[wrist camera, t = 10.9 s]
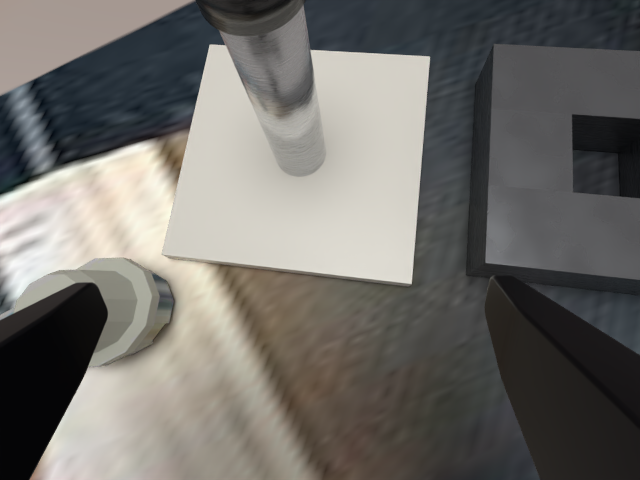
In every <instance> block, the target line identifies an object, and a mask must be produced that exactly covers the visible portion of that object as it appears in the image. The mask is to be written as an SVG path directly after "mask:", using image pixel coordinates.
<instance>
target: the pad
mask: <svg viewBox="0 0 640 480" xmlns="http://www.w3.org/2000/svg"><path fill="white" fill-rule="evenodd" d="M310 51H311V57H312V64H313V70H314V77H315V83H316V89H317V96H318V102H319V108H320V115H321V121H322V127H323V134H324V140H325V146H326V157H325V160H324V162H323V164H322V166H321V167H320V168H319V169H318V170H317V171H315V172H314V173H312V174H310V175H307V176H302V177H297V176H292V175H289V174H287V173H285V172H284V171H283V170H282V169H281V168H280V167H279V166H278V164H277V161H276V159H275V157H274V155H273V152H272V150H271V148H270V145H269V143H268V141H267V139H266V136H265V134H264V132H263V129H262V127H261V125H260V123H259V120H258V118H257V116H256V113H255V111H254V109H253V106H252V104H251V102H250V100H249V97H248V95H247V93H246V90H245V88H244V86H243V84H242V81H241V79H240V77H239V74H238V72H237V70H236V68H235V65H234V63H233V61H232V58H231V56H230V54H229V52H228V49H227V47H226V45H210V46H209V51H208V55H207V59H206V64H205V68H204V72H203V77H202V81H201V85H200V90H199V94H198V98H197V103H196V107H195V111H194V116H193V120H192V124H191V129H190V133H189V137H188V142H187V146H186V150H185V155H184V159H183V163H182V168H181V172H180V176H179V181H178V185H177V190H176V194H175V198H174V203H173V207H172V211H171V216H170V220H169V224H168V229H167V233H166V237H165V242H164V246H163V250H162V255H164V256H166V257H168V258H173V259H181V260H190V261H198V262H206V263H215V264H223V265H232V266H240V267H248V268H257V269H265V270H274V271H282V272H290V273H299V274H307V275H315V276H324V277H332V278H341V279H349V280H357V281H366V282H374V283H382V284H391V285H399V286H408V287H409V286H410V285H411V284H412V273H413V261H414V248H415V236H416V223H417V211H418V199H419V186H420V174H421V162H422V149H423V137H424V125H425V112H426V100H427V87H428V75H429V63H430V57H427V56H409V55H391V54H372V53H354V52H336V51H318V50H310Z"/></svg>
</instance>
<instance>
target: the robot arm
mask: <svg viewBox="0 0 640 480" xmlns="http://www.w3.org/2000/svg"><path fill="white" fill-rule="evenodd" d="M485 316H486V320H487V324H488V328H489V332H490V336H491V340H492V344H493V348H494V351H495V355H496V359H497V363H498V367H499V371H500V374H501V378H502V381H503V384H504V386H505V389H506V392H507V394H508V397H509V399H510V402H511V405H512V407H513V410H514V412H515V415H516V418H517V420H518V423H519V425H520V428H521V431H522V433H523V436H524V438H525V441H526V444H527V446H528V449H529V451H530V454H531V456H532V459H533V462H534V464H535V467H536V469H537V472H538V475H539V477H540V480H640V355H639V354H637V353H636V352H634V351H632V350H631V349H629V348H628V347H626V346H624V345H623V344H621V343H620V342H618V341H616V340H615V339H613V338H612V337H610V336H608V335H607V334H605V333H604V332H602V331H600V330H599V329H597V328H596V327H594V326H592V325H591V324H589V323H588V322H586V321H584V320H583V319H581V318H580V317H578V316H576V315H575V314H573V313H572V312H570V311H568V310H567V309H565V308H564V307H562V306H560V305H559V304H557V303H556V302H554V301H552V300H551V299H549V298H548V297H546V296H544V295H543V294H541V293H540V292H538V291H536V290H535V289H533V288H532V287H530V286H528V285H527V284H525V283H524V282H522V281H520V280H519V279H517V278H516V277H514V276H512V275H493V276H492V277H491V278H490V280H489V285H488V290H487V296H486V302H485ZM107 318H108V309H107V306H106V304H105V302H104V299H103V297H102V295H101V292H100V290H99V288H98V286H97V285H96V284H95V283H93V282H78V283H74V284H72V285H70V286H68V287H66V288H64V289H62V290H60V291H58V292H56V293H54V294H52V295H50V296H48V297H46V298H44V299H42V300H40V301H38V302H36V303H34V304H32V305H30V306H28V307H26V308H23V309H21V310H19V311H17V312H15V313H13V314H11V315H9V316H7V317H5V318H3V319H1V320H0V480H30V478H31V476H32V474H33V472H34V470H35V469H36V467H37V465H38V463H39V461H40V459H41V457H42V455H43V453H44V451H45V450H46V448H47V446H48V444H49V442H50V440H51V438H52V436H53V434H54V433H55V431H56V429H57V427H58V425H59V423H60V421H61V419H62V417H63V416H64V414H65V412H66V410H67V408H68V406H69V404H70V402H71V400H72V399H73V397H74V395H75V393H76V391H77V389H78V387H79V385H80V383H81V381H82V379H83V377H84V375H85V373H86V371H87V368H88V366H89V363H90V361H91V359H92V356H93V354H94V351H95V349H96V346H97V344H98V341H99V339H100V336H101V334H102V331H103V329H104V326H105V324H106V321H107Z"/></svg>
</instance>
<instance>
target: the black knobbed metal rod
mask: <svg viewBox="0 0 640 480" xmlns="http://www.w3.org/2000/svg"><path fill="white" fill-rule="evenodd" d="M196 3H197V5H198V7H199V9H200V11H201V13H202V15H203V16H204V18H205V19H206V20H207V21H208V22H209V23H210V24H211V25H212V26H213V27H215V28H216V29H218V30H219V31H220V33H221V36H222V38H223V40H224V42H225V45H226V47H227V49H228V52H229V54H230V56H231V58H232V61H233V63H234V65H235V68H236V70H237V72H238V74H239V77H240V79H241V81H242V84H243V86H244V88H245V90H246V93H247V95H248V97H249V100H250V102H251V104H252V106H253V109H254V111H255V113H256V116H257V118H258V120H259V123H260V125H261V127H262V129H263V132H264V134H265V136H266V139H267V141H268V143H269V145H270V148H271V150H272V152H273V155H274V157H275V159H276V161H277V164H278V166H279V167H280V168H281V169H282V170H283V171H284V172H285V173H287V174H289V175H292V176H297V177H302V176H307V175H310V174H312V173H314V172H315V171H317V170H318V169H319V168H320V167H321V166H322V164H323V162H324V160H325V157H326V146H325V140H324V134H323V127H322V121H321V115H320V108H319V102H318V96H317V89H316V83H315V77H314V70H313V64H312V57H311V51H310V45H309V38H308V32H307V26H306V19H305V13H304V7H303V4H304V3H305V0H196Z"/></svg>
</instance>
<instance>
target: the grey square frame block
mask: <svg viewBox="0 0 640 480" xmlns="http://www.w3.org/2000/svg"><path fill="white" fill-rule="evenodd" d="M572 149H577V150H590V151H603V152H615V153H619V173H620V196H621V197H618V196H607V195H596V194H585V193H573V155H572ZM466 275H468V276H477V277H486V278H491V277H492V276H493V275H512V276H514V277H516V278H517V279H519V280H520V281H522V282H529V283H538V284H547V285H556V286H564V287H573V288H582V289H591V290H599V291H608V292H617V293H626V294H634V295H640V51H623V50H603V49H583V48H563V47H543V46H523V45H503V44H494V45H493V47H492V49H491V51H490V54H489V56H488V58H487V60H486V62H485V65H484V67H483V69H482V71H481V73H480V76H479V78H478V80H477V82H476V85H475V105H474V126H473V146H472V166H471V186H470V207H469V227H468V247H467V268H466Z"/></svg>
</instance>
